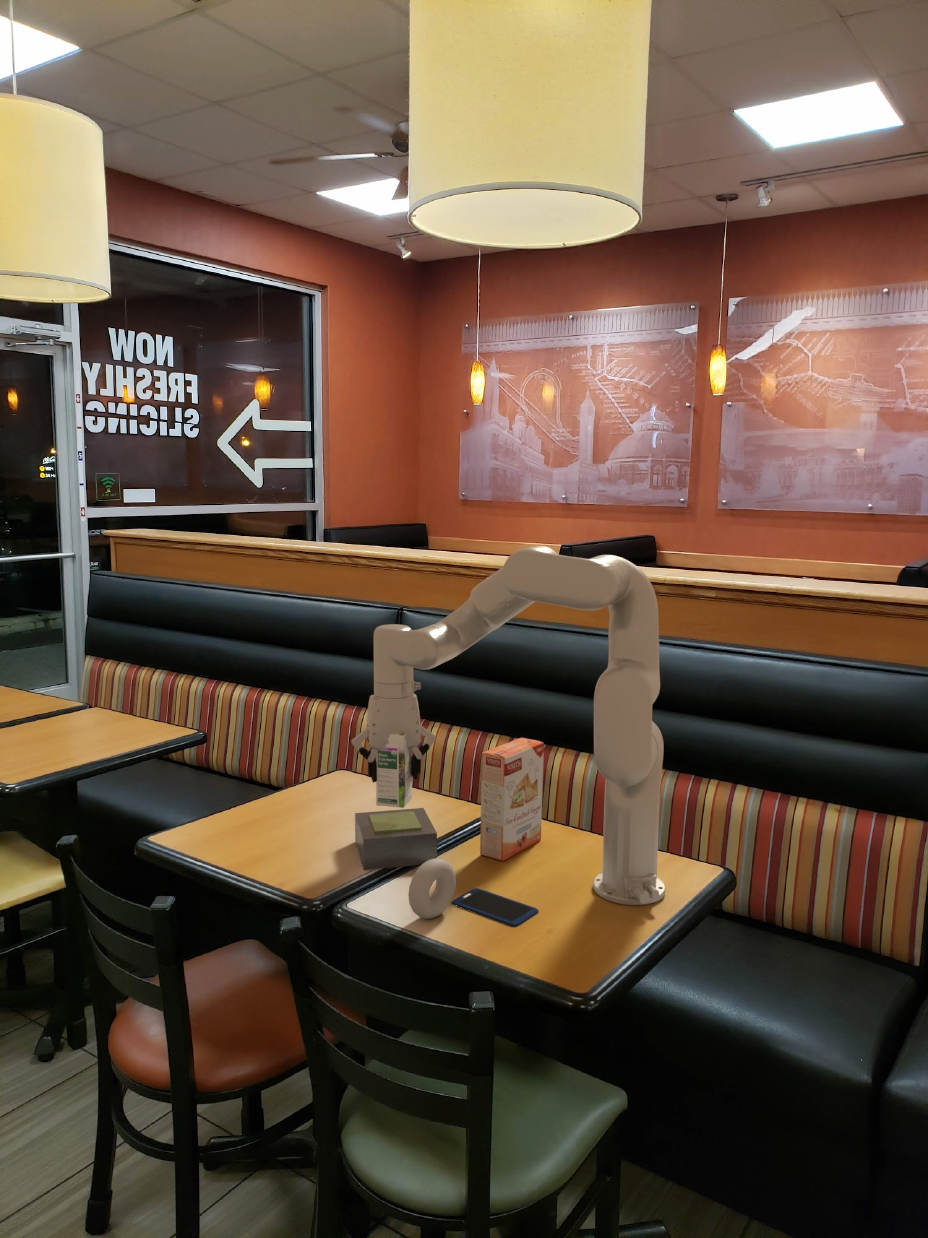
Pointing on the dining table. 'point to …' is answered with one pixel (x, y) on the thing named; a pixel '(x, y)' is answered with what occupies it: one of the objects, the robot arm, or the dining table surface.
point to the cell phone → (495, 907)
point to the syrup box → (394, 772)
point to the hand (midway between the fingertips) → (394, 778)
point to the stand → (395, 838)
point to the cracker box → (511, 798)
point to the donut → (423, 882)
